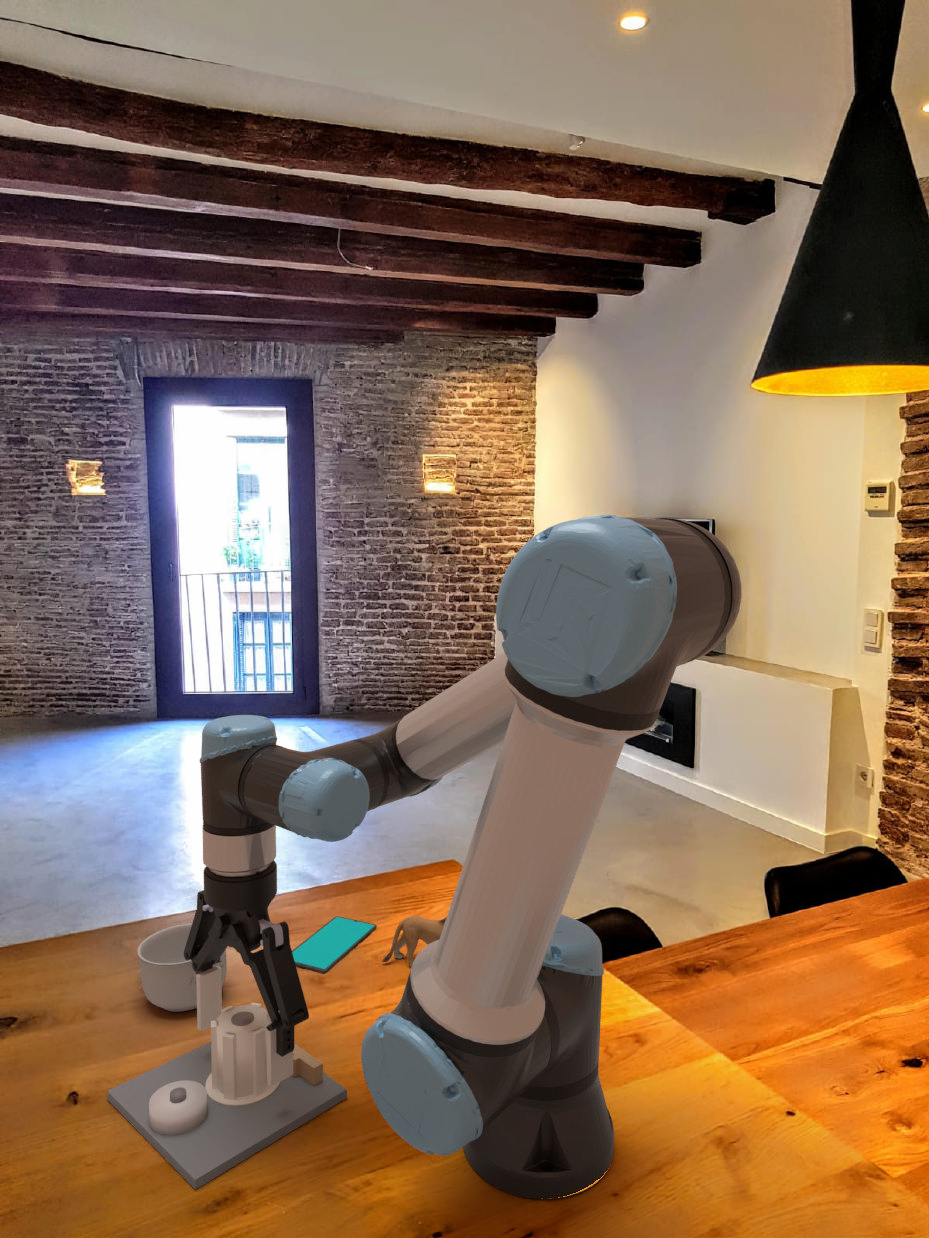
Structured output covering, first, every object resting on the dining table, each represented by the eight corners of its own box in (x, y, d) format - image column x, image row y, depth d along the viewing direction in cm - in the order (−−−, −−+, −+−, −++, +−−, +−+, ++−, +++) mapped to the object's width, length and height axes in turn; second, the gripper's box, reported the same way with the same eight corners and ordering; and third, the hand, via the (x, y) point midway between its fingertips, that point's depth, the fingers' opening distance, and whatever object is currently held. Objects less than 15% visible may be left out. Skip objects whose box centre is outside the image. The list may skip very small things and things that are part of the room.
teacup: (201, 1027, 106) (200, 965, 105) (121, 1016, 108) (119, 955, 107) (251, 970, 120) (250, 914, 119) (179, 961, 122) (178, 906, 121)
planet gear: (285, 1080, 95) (285, 1017, 94) (234, 1108, 90) (233, 1043, 89) (251, 1054, 99) (250, 994, 98) (201, 1079, 95) (200, 1017, 94)
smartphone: (280, 959, 122) (336, 915, 136) (280, 965, 122) (336, 920, 136) (325, 971, 119) (378, 924, 133) (325, 977, 119) (377, 930, 133)
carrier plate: (346, 1097, 94) (346, 1066, 93) (195, 1189, 81) (194, 1153, 80) (252, 1029, 106) (252, 1001, 106) (107, 1099, 93) (106, 1068, 92)
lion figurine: (482, 951, 126) (484, 891, 125) (488, 969, 121) (490, 908, 120) (381, 956, 124) (381, 896, 123) (382, 975, 119) (383, 912, 118)
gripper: (343, 887, 86) (343, 1086, 89) (209, 824, 103) (212, 993, 105) (280, 911, 81) (282, 1123, 83) (149, 840, 98) (154, 1018, 100)
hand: (243, 1051), depth 94 cm, fingers open, 13 cm apart
